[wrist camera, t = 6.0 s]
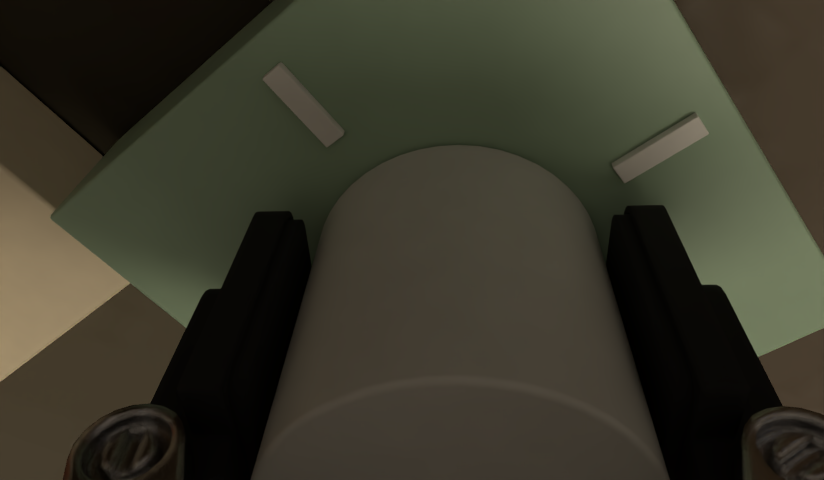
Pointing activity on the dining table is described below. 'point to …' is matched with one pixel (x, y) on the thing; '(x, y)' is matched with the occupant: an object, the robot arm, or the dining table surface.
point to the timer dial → (459, 335)
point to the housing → (41, 229)
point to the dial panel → (450, 140)
